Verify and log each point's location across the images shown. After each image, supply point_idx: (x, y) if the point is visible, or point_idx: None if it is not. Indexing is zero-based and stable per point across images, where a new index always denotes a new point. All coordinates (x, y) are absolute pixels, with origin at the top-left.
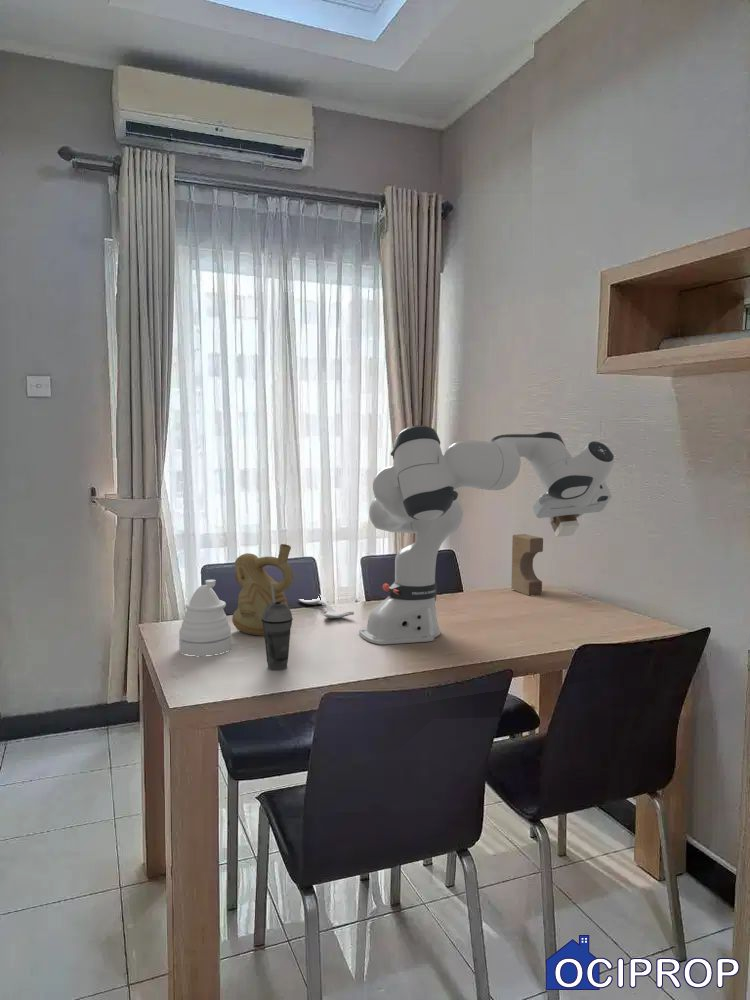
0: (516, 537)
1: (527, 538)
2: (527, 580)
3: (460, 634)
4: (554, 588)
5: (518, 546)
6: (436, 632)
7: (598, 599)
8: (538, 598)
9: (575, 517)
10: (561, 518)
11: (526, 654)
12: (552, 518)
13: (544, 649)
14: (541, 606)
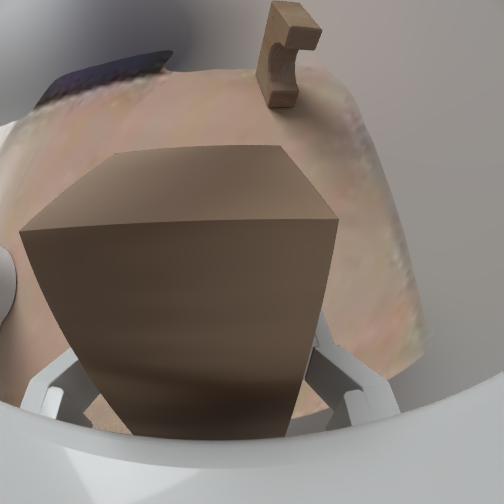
0: (275, 8)
1: (287, 21)
2: (271, 84)
3: (35, 313)
4: (327, 87)
5: (274, 24)
6: (2, 314)
7: (372, 157)
8: (277, 123)
9: (281, 435)
10: (150, 435)
11: None
12: (86, 405)
13: (131, 434)
14: None
